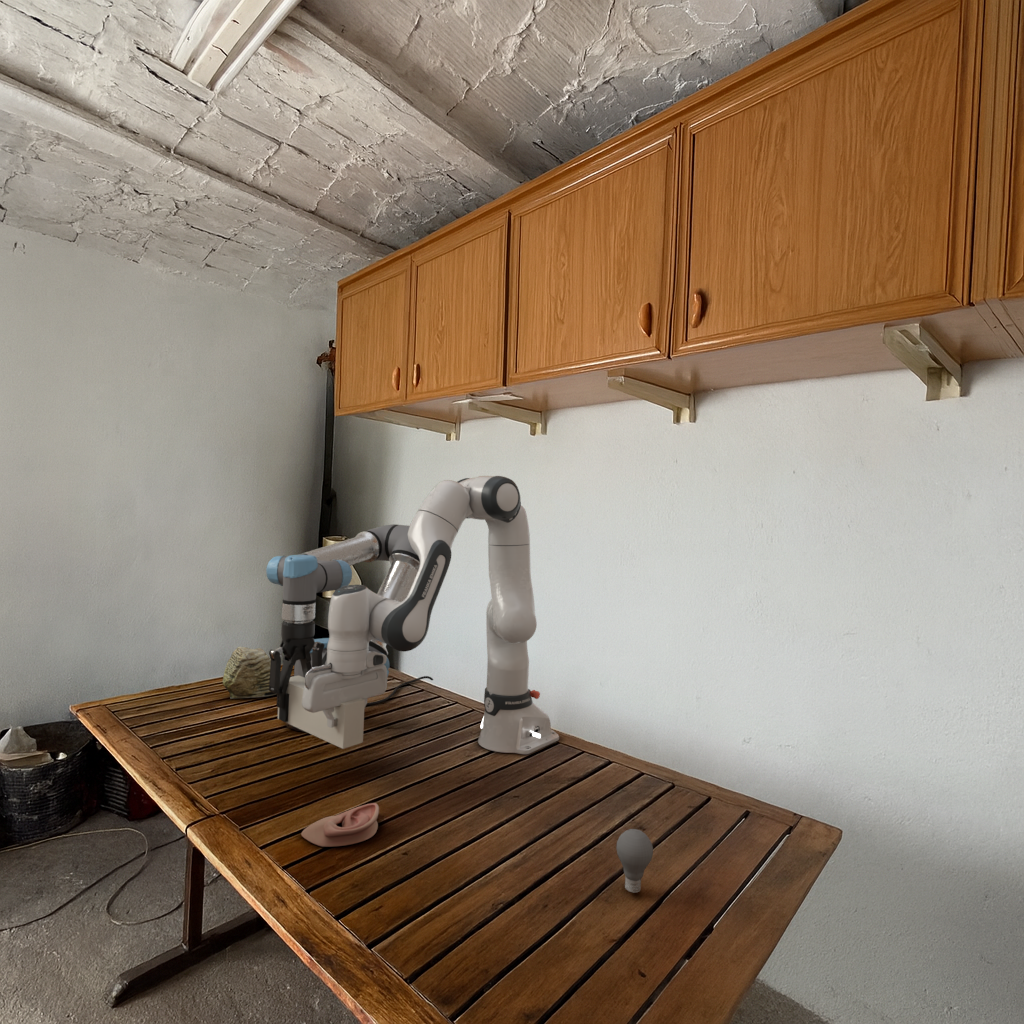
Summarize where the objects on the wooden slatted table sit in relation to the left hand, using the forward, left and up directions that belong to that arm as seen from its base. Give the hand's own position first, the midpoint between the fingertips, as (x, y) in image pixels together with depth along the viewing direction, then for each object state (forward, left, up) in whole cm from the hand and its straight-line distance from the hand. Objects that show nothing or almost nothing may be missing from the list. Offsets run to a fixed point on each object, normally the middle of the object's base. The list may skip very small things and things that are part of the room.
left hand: (294, 717), depth 151 cm
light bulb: (-10, +85, -10) cm, 86 cm away
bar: (0, +10, -1) cm, 10 cm away
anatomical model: (+12, +35, -10) cm, 38 cm away
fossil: (-19, -52, -10) cm, 56 cm away
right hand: (0, +19, +4) cm, 20 cm away
